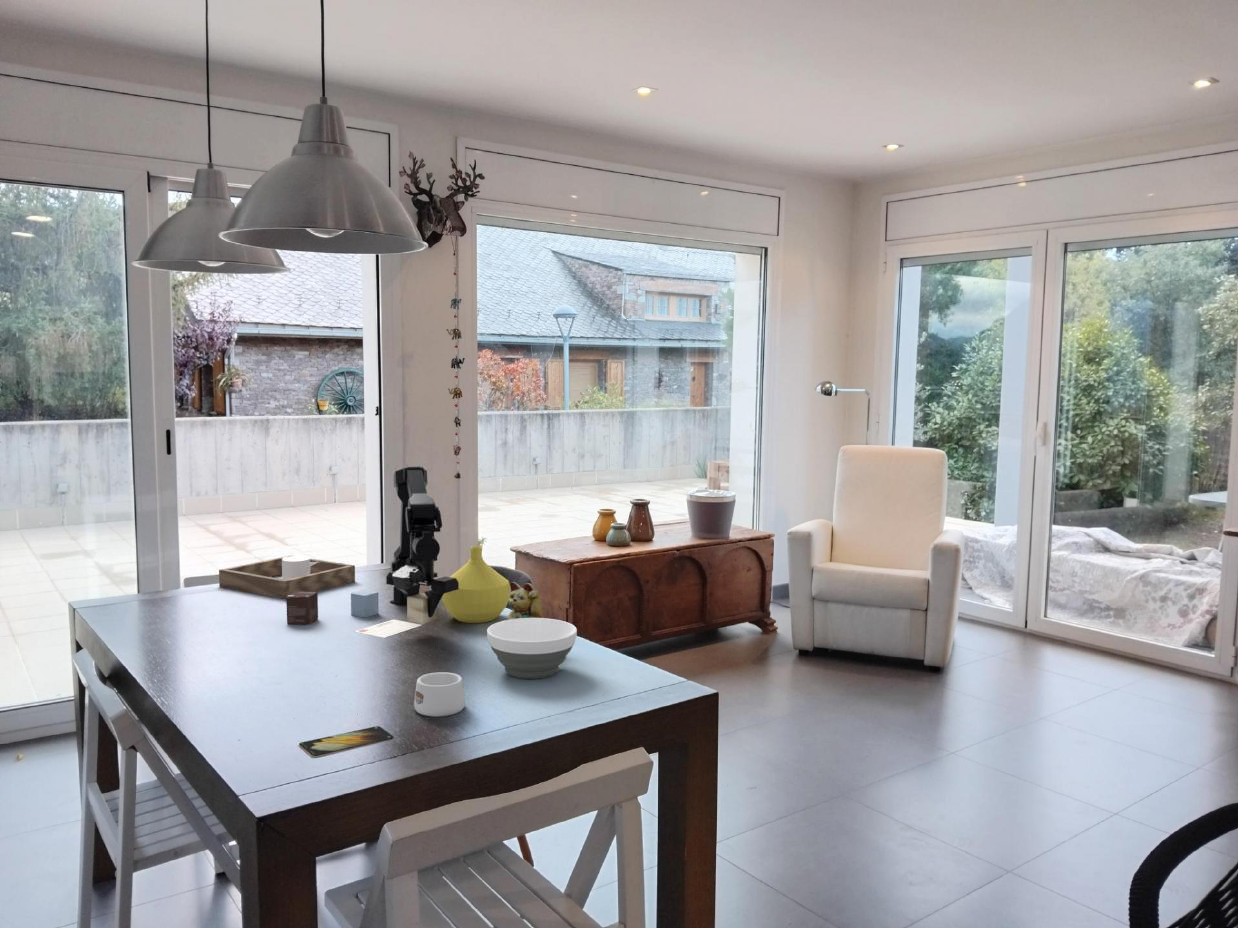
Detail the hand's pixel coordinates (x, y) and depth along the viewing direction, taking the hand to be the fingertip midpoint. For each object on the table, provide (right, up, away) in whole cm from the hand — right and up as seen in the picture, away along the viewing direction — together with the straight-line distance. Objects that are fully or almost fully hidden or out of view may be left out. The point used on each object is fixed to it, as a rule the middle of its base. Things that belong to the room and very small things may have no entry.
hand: (422, 615), depth 235 cm
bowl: (+29, -8, -26) cm, 40 cm away
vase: (+11, -4, +17) cm, 21 cm away
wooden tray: (-51, +1, +53) cm, 74 cm away
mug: (+13, -10, -49) cm, 52 cm away
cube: (-19, -3, +19) cm, 27 cm away
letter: (-10, -4, +6) cm, 12 cm away
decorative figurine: (+26, -6, -4) cm, 27 cm away
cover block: (0, -1, 0) cm, 1 cm away
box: (-33, -4, +11) cm, 35 cm away
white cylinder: (-50, +1, +55) cm, 74 cm away
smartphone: (+1, -12, -67) cm, 68 cm away
